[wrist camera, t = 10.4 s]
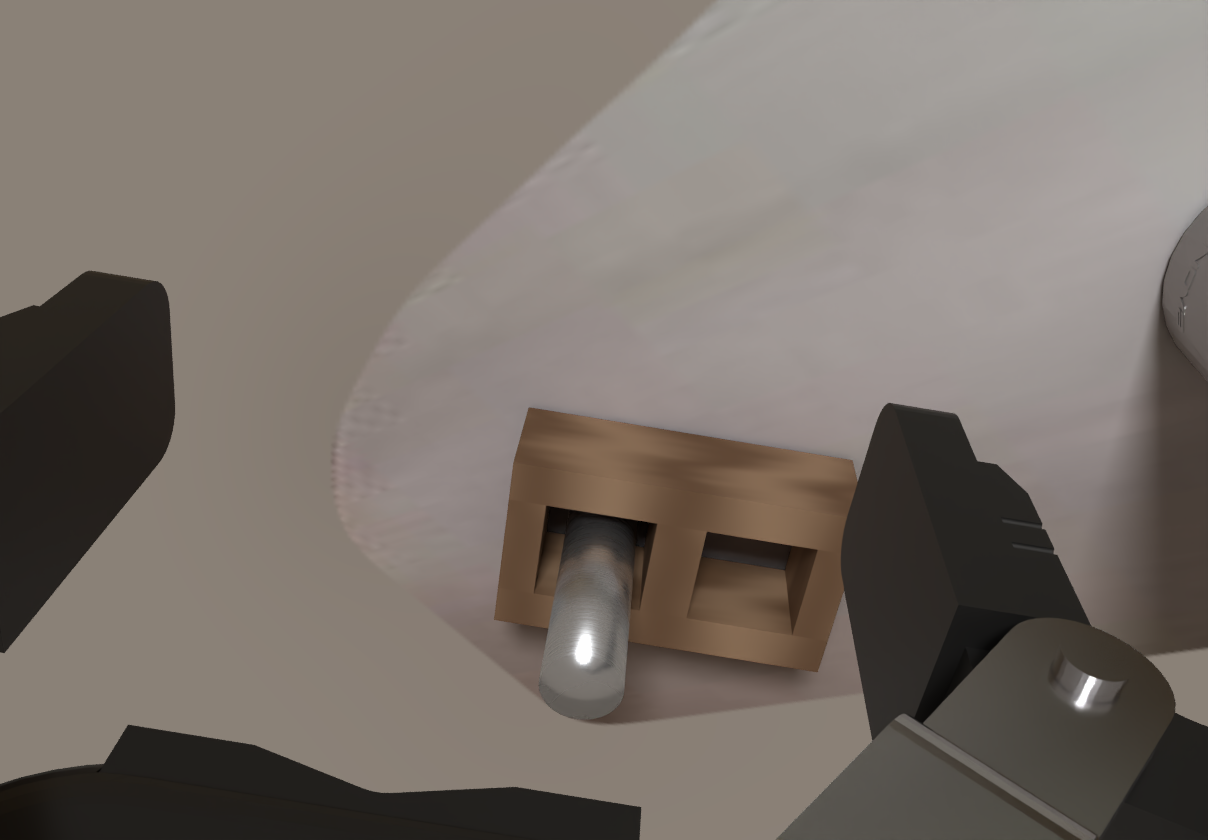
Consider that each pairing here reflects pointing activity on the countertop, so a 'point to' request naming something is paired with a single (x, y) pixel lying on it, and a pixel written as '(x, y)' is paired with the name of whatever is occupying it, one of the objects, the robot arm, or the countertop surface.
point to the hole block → (684, 534)
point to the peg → (590, 617)
